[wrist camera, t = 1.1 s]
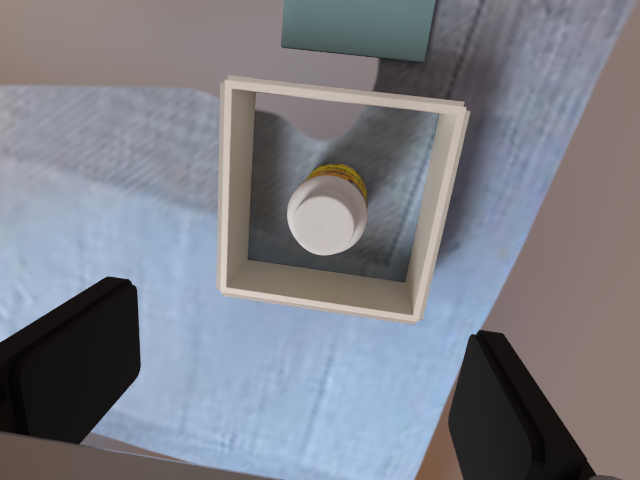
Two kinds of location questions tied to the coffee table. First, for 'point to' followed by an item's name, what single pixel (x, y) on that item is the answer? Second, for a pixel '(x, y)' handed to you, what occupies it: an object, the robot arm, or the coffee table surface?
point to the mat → (359, 27)
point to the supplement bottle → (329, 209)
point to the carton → (317, 285)
